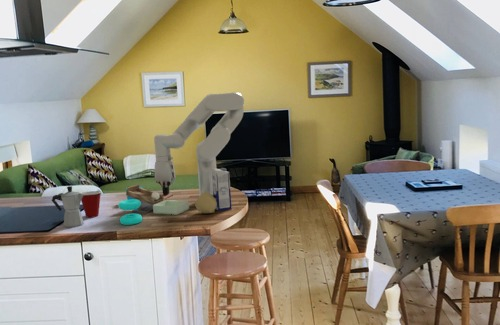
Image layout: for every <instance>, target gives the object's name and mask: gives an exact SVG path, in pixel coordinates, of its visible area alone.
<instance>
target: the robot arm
mask: <svg viewBox="0 0 500 325" xmlns="http://www.w3.org/2000/svg"><path fill="white" fill-rule="evenodd" d="M244 104H245V98H244V96H243V95H242V94H241V93H240V92H235V91H233V92H225V93H209V94H206V95H205V96H204V98H203V99H202V100H201V101H200V102H199V103H198V104H197V105H196V106H195V108H194V109H193V110H192V111H191V112H190V113H189V114H188V115H187V117H186V118H185V120H183V121H182V123H180V125H179V126H178V127H177V128H176V130H174V131H173V132H172V133H171V134H169V135H168V134H165V133H164V134H163V133H162V134H156V135H154V138H153V141H154V142H153V143H154V153H155V154H154V155H155V161H154V162H155V163H154V180H155V183H156V184H158V185H160V186H161V188H162V195H168V194H169V193H170V186H171V185H172V184H174V183H176V182H175V180H176V170H175V169H176V168H175V165H174V162H173V156H172V155H171V149H175V150H176V149H177V150H178V149H181V148H183V147H184V146H185V143H186V141H187V140H188V139H189V137H191V135H193V134H194V132H196V131H197V130H198V129H200V128H201V127H202V126H203V125H204V124H205V123H206V122H207V121H208V119H210V117H212V116H213V114H214V113H215V112H224V111H226V112H225V113H224V115H223V116H222V117H221V119H220V120H219V121H218V122H217V123H216V124H215V126H213V127H212V129H211V130H210V133H209V134H208V136H207V137H206V138H205V139H204V140H202V141H200V142H199V143H198V144H197V146H196V149H195V150H196V151H195V153H196V155H195V156H196V160H197V162H196V163H197V174H198V175H197V176H198V177H197V178H198V188H199V189H198V190H199V191H198V192H199V196H200V195H201V194H202V193H203V192H208V193H210V194H212V195H213V184H212V170H211V168H214V169H217V158H216V157H217V156H218V155H219V154H220V153H221V151H222V150H223V149H224V148H225V147H226V145H228V143H229V141H230V140H231V134H232V133H233V132H234V131H235V129H236V128H237V127H238V125H239V124H240V123H241V121H242V119H243V117H244V113H245V112H244V111H245V110H244V108H245V107H244Z"/></svg>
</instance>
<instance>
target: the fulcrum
mask: <svg viewBox="0 0 500 325" xmlns="http://www.w3.org/2000/svg"><path fill="white" fill-rule="evenodd" d="M140 202H141V205H140V207H139V208H137V209H134V210H131V213H136V214H147V213H150V212H152V211H153V205H151V204H149V203H146V202H143V201H140Z"/></svg>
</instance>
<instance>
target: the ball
mask: <svg viewBox="0 0 500 325" xmlns="http://www.w3.org/2000/svg"><path fill="white" fill-rule="evenodd" d="M152 192H153V193H152V195H151V197H152V199H154V200H157V199H159V197H160V195H161V194H160V193H159V192H158V191H152ZM159 194H160V195H159Z"/></svg>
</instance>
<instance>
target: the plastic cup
mask: <svg viewBox="0 0 500 325" xmlns="http://www.w3.org/2000/svg"><path fill="white" fill-rule="evenodd" d="M102 192H103V191H101V190H92V191H84V192H83V191H82V192H79V193H80V194H84V195H83V197H82V200H81V205H82V208H83V211H84V214H85V217H86V218H97V217H99V214H100V203H101V202H100V201H101V195H102Z"/></svg>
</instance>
